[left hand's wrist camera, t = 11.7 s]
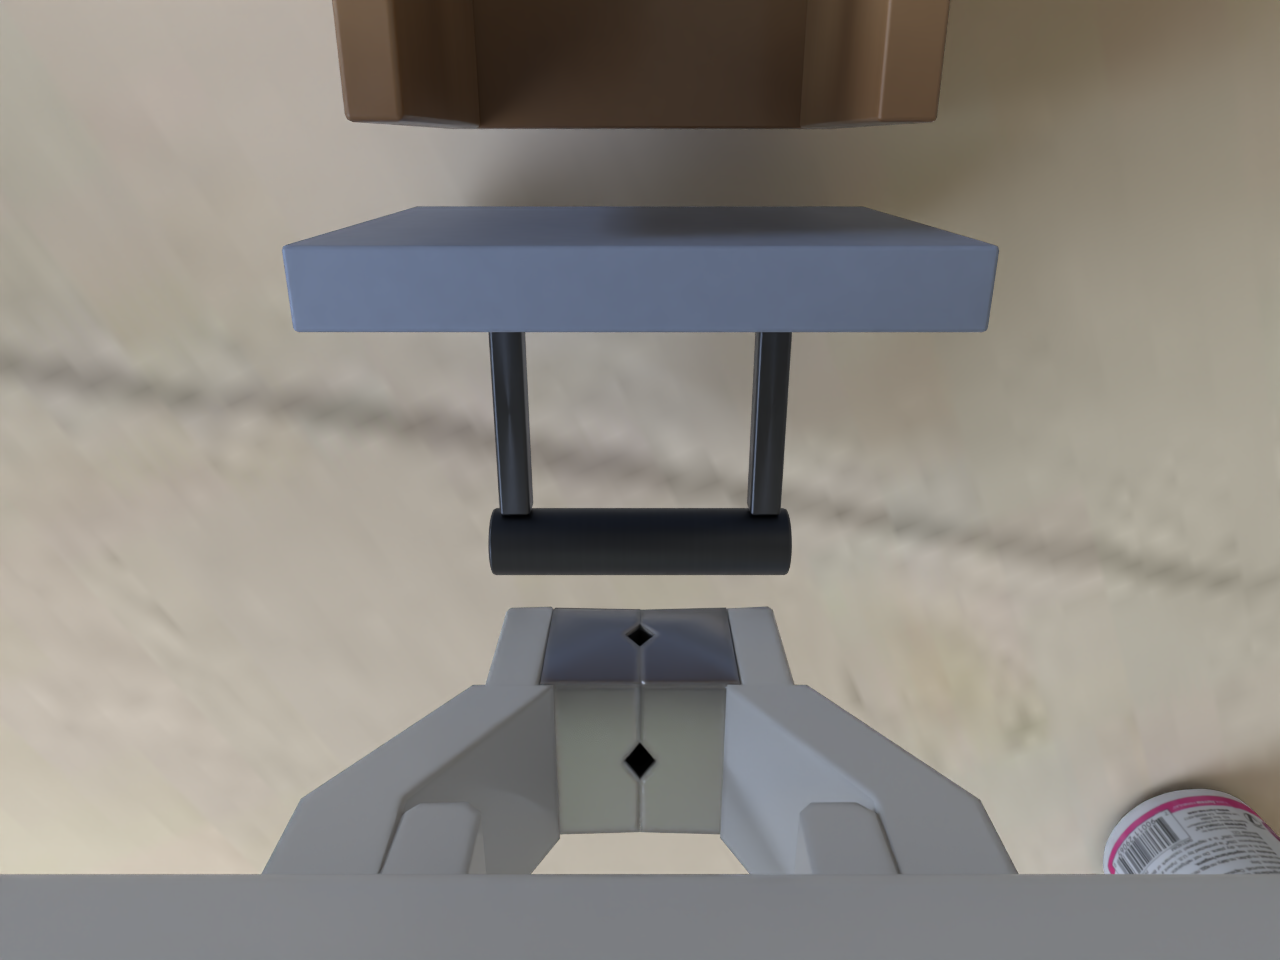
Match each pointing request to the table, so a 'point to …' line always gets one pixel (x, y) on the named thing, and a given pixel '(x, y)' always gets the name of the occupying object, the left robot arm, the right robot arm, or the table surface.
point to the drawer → (640, 226)
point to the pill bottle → (1192, 837)
